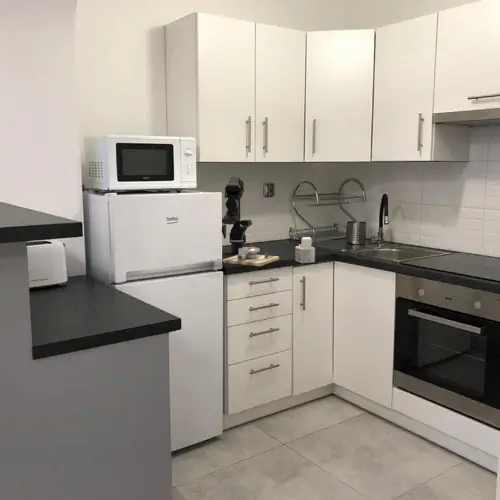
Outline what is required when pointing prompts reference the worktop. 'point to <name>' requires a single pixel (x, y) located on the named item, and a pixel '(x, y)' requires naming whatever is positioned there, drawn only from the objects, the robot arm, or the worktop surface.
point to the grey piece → (248, 250)
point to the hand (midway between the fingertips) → (233, 239)
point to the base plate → (251, 259)
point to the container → (305, 251)
